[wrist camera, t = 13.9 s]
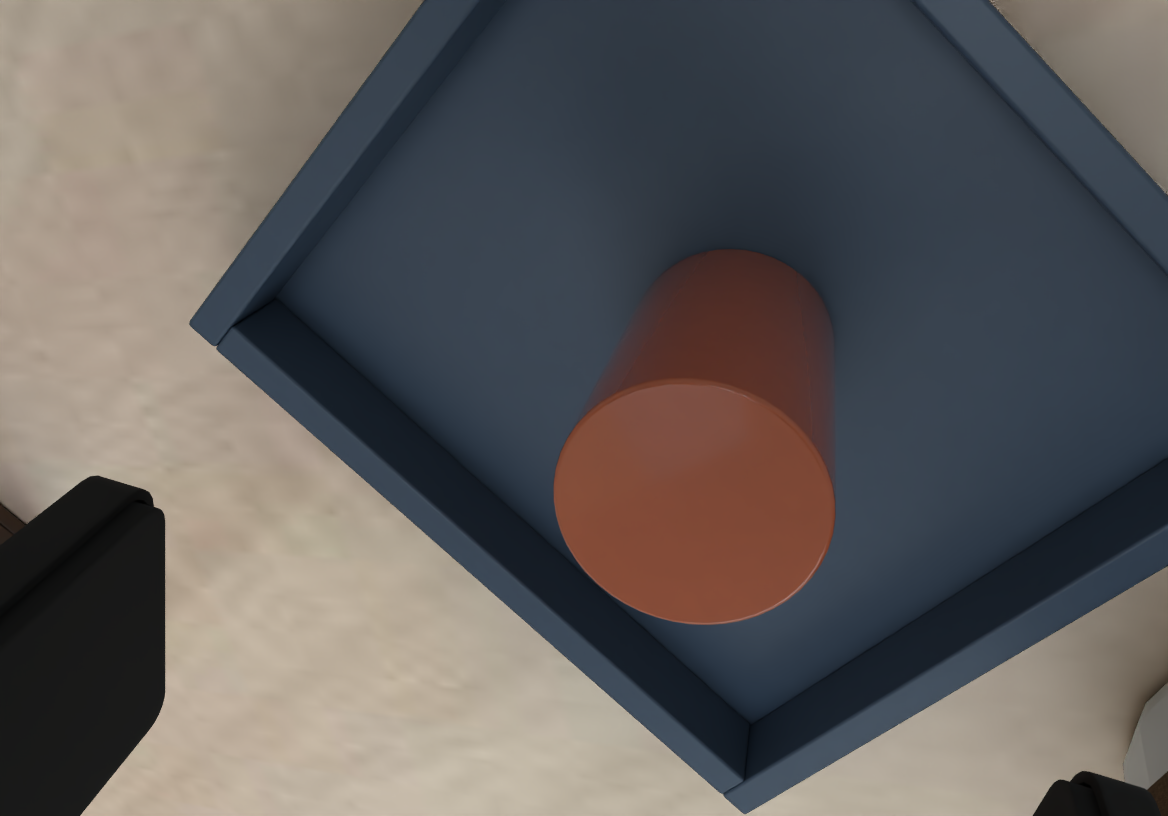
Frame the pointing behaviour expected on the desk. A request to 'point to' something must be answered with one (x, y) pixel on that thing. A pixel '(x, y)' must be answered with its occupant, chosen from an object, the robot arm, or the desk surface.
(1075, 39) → the desk surface
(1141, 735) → the coffee cup
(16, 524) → the brown open box
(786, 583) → the orange cylinder
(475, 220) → the tray
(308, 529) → the desk surface
